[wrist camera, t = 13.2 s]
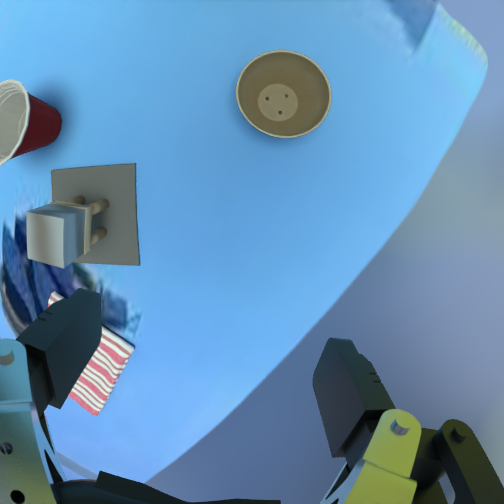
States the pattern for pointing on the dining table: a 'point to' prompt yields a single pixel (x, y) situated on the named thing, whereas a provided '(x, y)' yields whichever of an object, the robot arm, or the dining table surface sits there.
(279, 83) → the flower pot
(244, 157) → the dining table surface
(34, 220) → the stool
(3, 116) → the plastic cup
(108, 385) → the dish towel
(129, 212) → the mat
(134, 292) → the dining table surface
